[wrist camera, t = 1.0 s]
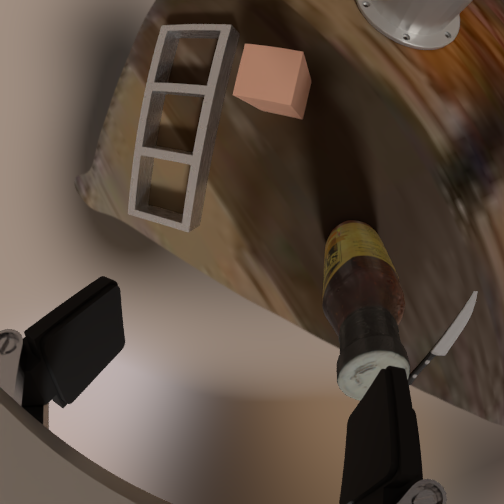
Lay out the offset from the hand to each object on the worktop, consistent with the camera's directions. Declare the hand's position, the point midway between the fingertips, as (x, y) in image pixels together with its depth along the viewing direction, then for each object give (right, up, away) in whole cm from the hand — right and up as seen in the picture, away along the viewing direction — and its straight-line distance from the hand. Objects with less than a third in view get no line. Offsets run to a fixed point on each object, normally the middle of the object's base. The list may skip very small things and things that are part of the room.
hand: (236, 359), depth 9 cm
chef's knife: (+27, -8, +23) cm, 36 cm away
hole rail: (-7, +18, +22) cm, 29 cm away
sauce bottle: (+12, +4, +22) cm, 25 cm away
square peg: (+4, +20, +18) cm, 27 cm away
